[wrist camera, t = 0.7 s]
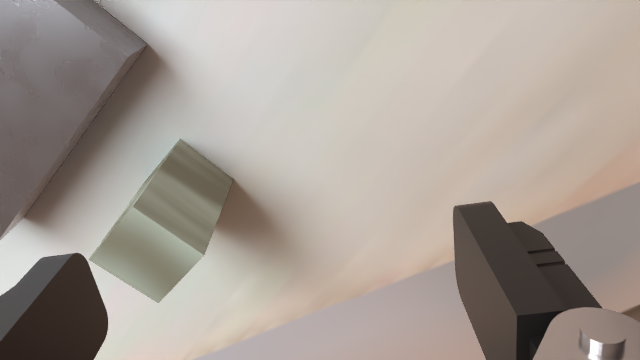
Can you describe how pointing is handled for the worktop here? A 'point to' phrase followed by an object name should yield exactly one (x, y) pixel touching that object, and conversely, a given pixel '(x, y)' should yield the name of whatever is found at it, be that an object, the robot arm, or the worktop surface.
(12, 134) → the hole block
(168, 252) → the peg
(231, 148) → the worktop surface
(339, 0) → the worktop surface
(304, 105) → the worktop surface
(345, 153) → the worktop surface
